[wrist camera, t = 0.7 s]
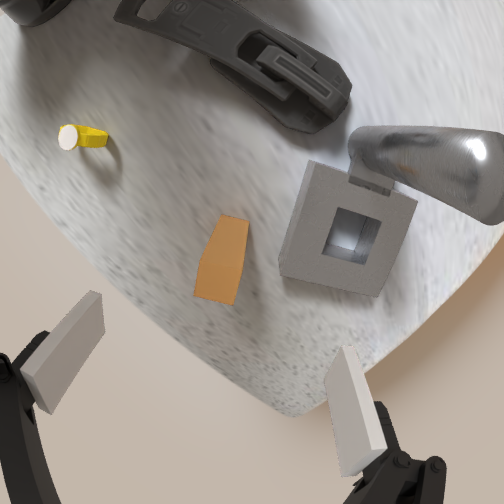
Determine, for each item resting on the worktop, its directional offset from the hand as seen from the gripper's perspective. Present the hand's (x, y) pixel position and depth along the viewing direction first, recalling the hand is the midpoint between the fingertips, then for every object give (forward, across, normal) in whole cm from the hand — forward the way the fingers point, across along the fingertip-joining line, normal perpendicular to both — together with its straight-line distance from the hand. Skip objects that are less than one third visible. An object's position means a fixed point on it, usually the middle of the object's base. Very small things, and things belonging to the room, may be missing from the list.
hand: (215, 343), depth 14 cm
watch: (+19, -20, +8) cm, 29 cm away
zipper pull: (+19, -4, +20) cm, 28 cm away
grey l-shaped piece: (+20, +11, +6) cm, 23 cm away
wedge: (+19, -1, 0) cm, 20 cm away
